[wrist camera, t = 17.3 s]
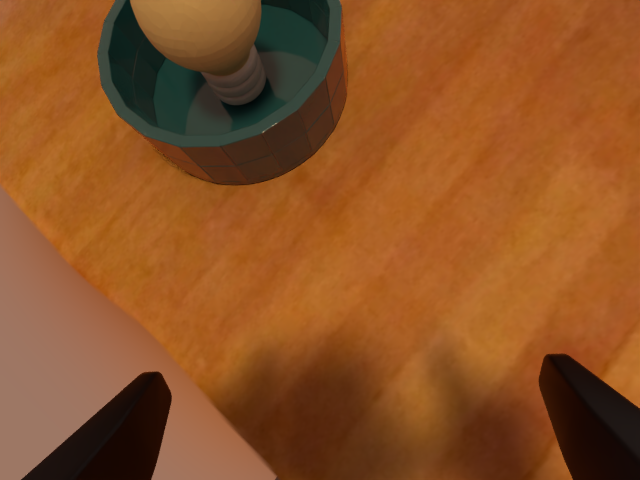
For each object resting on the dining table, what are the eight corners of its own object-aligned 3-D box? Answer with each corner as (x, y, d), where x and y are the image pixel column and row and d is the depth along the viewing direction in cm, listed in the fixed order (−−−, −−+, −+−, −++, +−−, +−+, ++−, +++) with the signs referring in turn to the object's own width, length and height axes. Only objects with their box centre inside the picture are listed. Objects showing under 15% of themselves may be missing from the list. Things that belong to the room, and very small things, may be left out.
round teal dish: (254, 226, 25) (222, 198, 19) (111, 113, 28) (51, 62, 23) (390, 63, 26) (394, -5, 21) (238, -26, 30) (209, -103, 24)
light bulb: (304, 66, 26) (265, -88, 17) (256, 142, 25) (185, 27, 16) (229, 34, 28) (153, -125, 18) (180, 105, 27) (74, -21, 17)
